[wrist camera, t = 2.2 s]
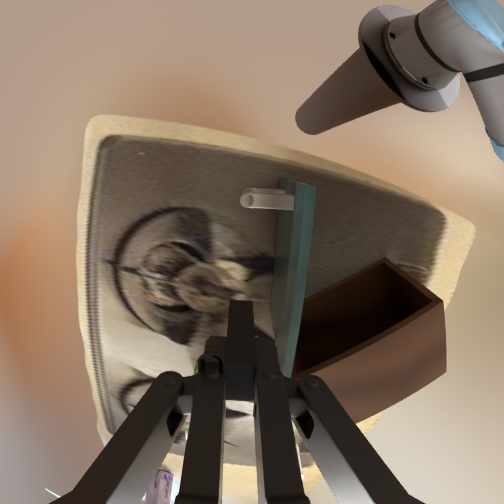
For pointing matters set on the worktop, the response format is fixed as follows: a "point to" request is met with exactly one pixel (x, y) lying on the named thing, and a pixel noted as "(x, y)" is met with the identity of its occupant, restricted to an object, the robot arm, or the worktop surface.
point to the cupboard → (372, 339)
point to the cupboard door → (287, 258)
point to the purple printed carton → (160, 489)
